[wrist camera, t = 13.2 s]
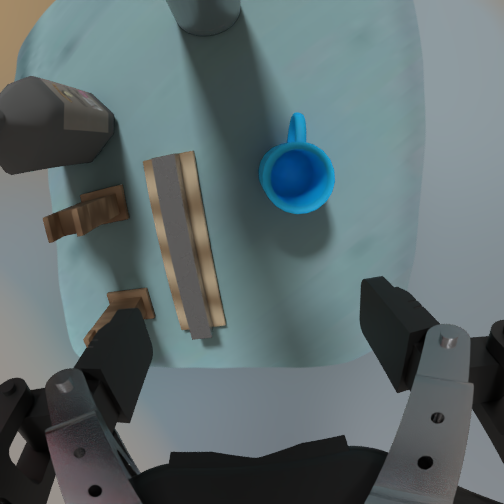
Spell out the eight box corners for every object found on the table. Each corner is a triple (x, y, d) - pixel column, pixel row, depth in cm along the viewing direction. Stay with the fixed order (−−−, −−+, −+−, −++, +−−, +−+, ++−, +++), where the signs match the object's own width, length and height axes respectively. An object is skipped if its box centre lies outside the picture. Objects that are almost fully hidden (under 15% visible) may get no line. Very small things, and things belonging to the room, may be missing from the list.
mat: (145, 161, 39) (142, 161, 38) (193, 150, 39) (192, 150, 38) (182, 326, 47) (181, 330, 47) (225, 321, 47) (225, 325, 46)
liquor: (87, 87, 35) (-72, 47, 7) (125, 123, 37) (-43, 102, 9) (52, 135, 37) (-110, 149, 9) (87, 171, 39) (-81, 219, 11)
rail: (157, 158, 38) (151, 158, 35) (179, 153, 38) (174, 153, 35) (194, 328, 47) (192, 339, 44) (213, 326, 46) (212, 337, 44)
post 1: (82, 194, 40) (35, 211, 28) (122, 184, 40) (81, 197, 28) (89, 226, 42) (45, 252, 30) (129, 218, 42) (92, 242, 30)
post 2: (108, 292, 45) (75, 333, 33) (147, 287, 45) (120, 330, 33) (117, 319, 47) (89, 363, 35) (155, 315, 47) (133, 363, 35)
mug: (314, 204, 42) (330, 216, 34) (256, 200, 42) (259, 211, 34) (321, 119, 38) (340, 113, 31) (262, 113, 38) (267, 104, 30)
